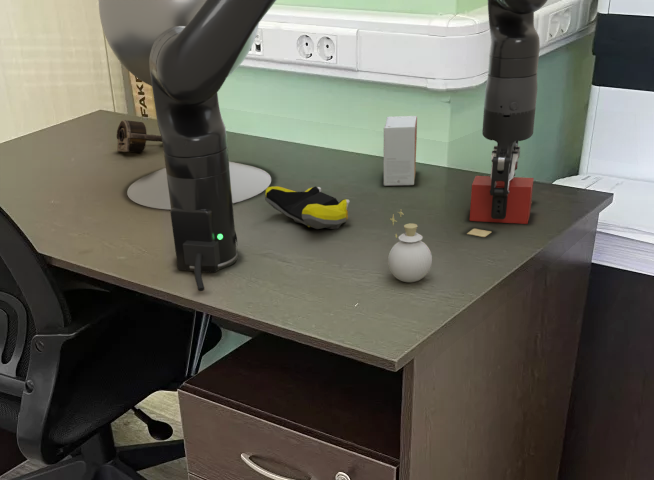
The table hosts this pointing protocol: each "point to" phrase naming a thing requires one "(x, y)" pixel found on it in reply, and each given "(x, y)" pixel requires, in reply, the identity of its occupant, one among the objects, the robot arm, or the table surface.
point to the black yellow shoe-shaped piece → (309, 206)
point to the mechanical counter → (133, 136)
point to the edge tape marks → (479, 232)
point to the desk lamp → (134, 53)
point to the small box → (400, 150)
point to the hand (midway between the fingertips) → (501, 209)
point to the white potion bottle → (409, 255)
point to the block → (516, 200)
